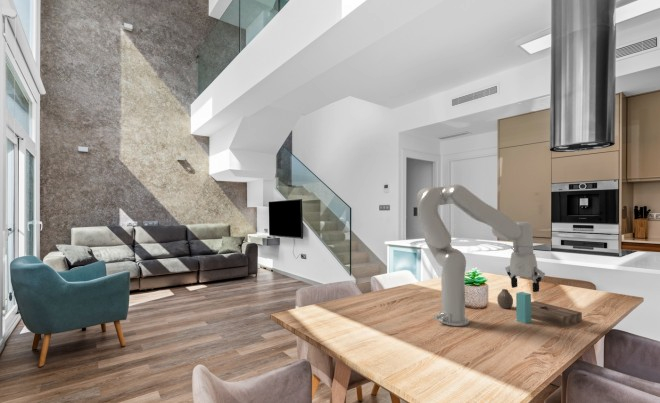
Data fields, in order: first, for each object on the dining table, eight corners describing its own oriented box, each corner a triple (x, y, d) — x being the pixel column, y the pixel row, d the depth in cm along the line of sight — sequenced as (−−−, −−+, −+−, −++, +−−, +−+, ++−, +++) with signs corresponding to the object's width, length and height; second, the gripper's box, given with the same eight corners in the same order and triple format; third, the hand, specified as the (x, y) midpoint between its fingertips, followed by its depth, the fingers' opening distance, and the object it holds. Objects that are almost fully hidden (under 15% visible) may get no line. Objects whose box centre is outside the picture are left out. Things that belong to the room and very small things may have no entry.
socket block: (562, 327, 141) (562, 317, 141) (517, 313, 158) (517, 305, 158) (581, 321, 147) (581, 312, 147) (536, 309, 165) (535, 301, 165)
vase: (511, 310, 163) (511, 292, 164) (496, 308, 168) (495, 290, 168) (514, 307, 169) (514, 289, 169) (499, 304, 173) (498, 287, 173)
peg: (525, 323, 145) (524, 295, 146) (516, 320, 149) (516, 293, 149) (531, 321, 147) (530, 293, 147) (522, 319, 151) (522, 291, 151)
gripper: (499, 248, 155) (501, 286, 154) (537, 252, 139) (539, 295, 139) (510, 247, 158) (512, 284, 158) (548, 251, 143) (550, 292, 142)
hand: (524, 289), depth 148 cm, fingers open, 9 cm apart
